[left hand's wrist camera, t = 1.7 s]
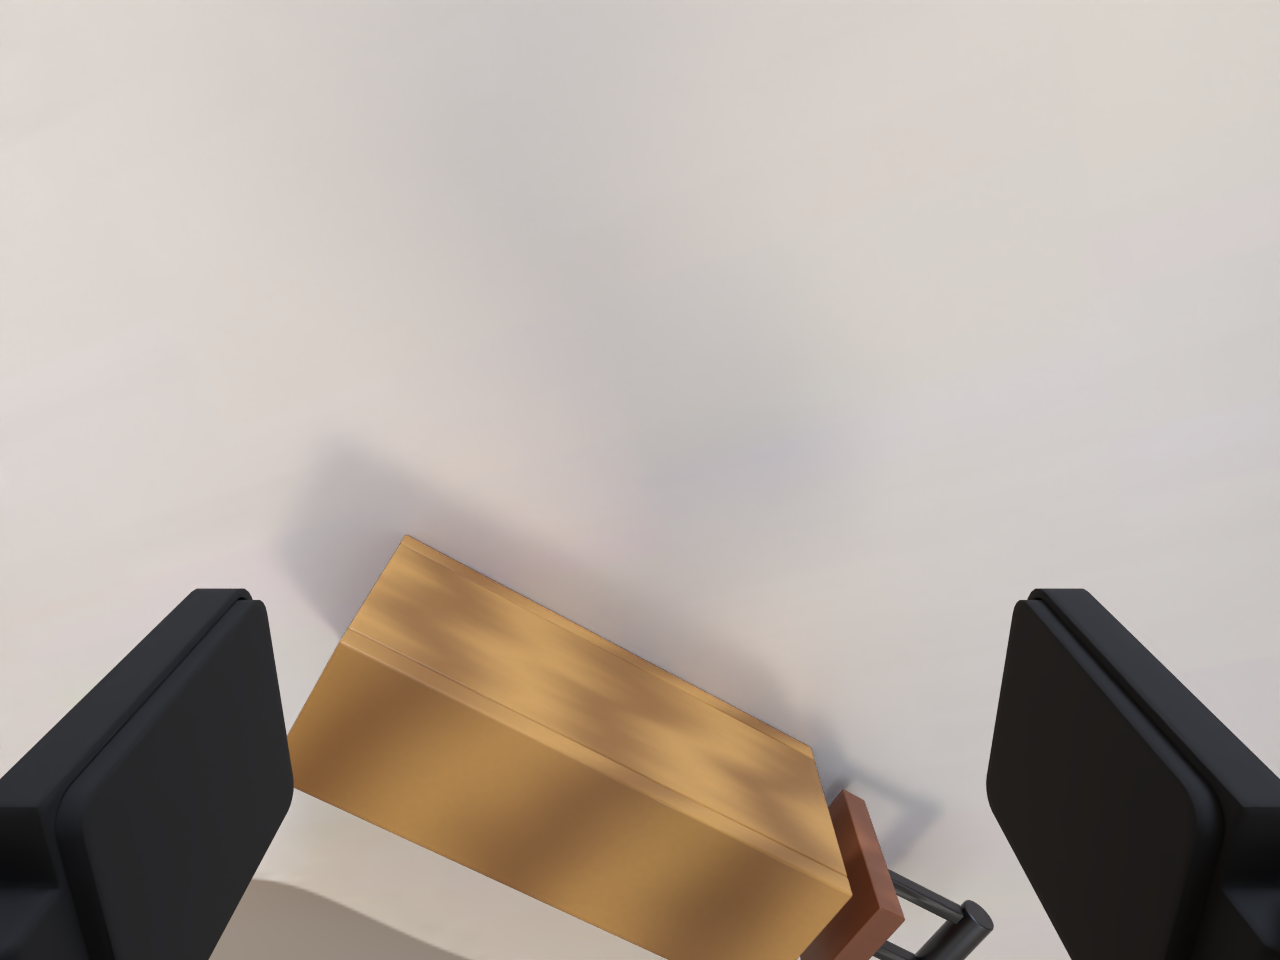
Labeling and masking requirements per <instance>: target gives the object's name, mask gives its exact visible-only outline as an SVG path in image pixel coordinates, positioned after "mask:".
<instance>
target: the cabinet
mask: <svg viewBox="0 0 1280 960" xmlns="http://www.w3.org/2000/svg"><path fill="white" fill-rule="evenodd" d="M287 741H288V747H289V753H290V760H291V766H292V772H293V780H294V788H296V789H298V790H300V791H303V792H305V793H307V794H309V795H311V796H313V797H316V798H318V799H320V800H322V801H324V802H327V803H329V804H331V805H333V806H335V807H337V808H340V809H342V810H344V811H346V812H348V813H350V814H353V815H355V816H357V817H359V818H361V819H363V820H366V821H368V822H370V823H372V824H374V825H377V826H379V827H381V828H383V829H385V830H387V831H390V832H392V833H394V834H396V835H398V836H400V837H403V838H405V839H407V840H409V841H411V842H414V843H416V844H418V845H420V846H422V847H424V848H427V849H429V850H431V851H433V852H435V853H437V854H440V855H442V856H444V857H446V858H448V859H450V860H453V861H455V862H457V863H459V864H461V865H464V866H466V867H468V868H470V869H472V870H474V871H477V872H479V873H481V874H483V875H485V876H487V877H490V878H492V879H494V880H496V881H498V882H500V883H503V884H505V885H507V886H509V887H511V888H514V889H516V890H518V891H520V892H522V893H524V894H527V895H529V896H531V897H533V898H535V899H537V900H540V901H542V902H544V903H546V904H548V905H551V906H553V907H555V908H557V909H559V910H561V911H564V912H566V913H568V914H570V915H572V916H574V917H577V918H579V919H581V920H583V921H585V922H587V923H590V924H592V925H594V926H596V927H598V928H601V929H603V930H605V931H607V932H609V933H611V934H614V935H616V936H618V937H620V938H622V939H624V940H627V941H629V942H631V943H633V944H635V945H638V946H640V947H642V948H644V949H646V950H648V951H651V952H653V953H655V954H657V955H659V956H661V957H664V958H666V959H668V960H797V959H798V957H799V956H800V955H801V954H802V953H803V952H804V951H805V949H806V948H807V947H808V946H809V945H810V944H811V943H812V941H813V940H814V939H815V938H816V937H817V936H818V935H819V934H820V932H821V931H822V930H823V929H824V928H825V927H826V926H827V924H828V923H829V922H830V921H831V920H832V919H833V918H834V916H835V915H836V914H837V913H838V912H839V911H840V910H841V908H842V907H843V906H844V905H845V904H846V903H847V902H848V900H849V899H850V898H851V897H852V891H851V888H850V884H849V881H848V878H847V873H846V870H845V866H844V863H843V859H842V856H841V852H840V849H839V845H838V842H837V838H836V835H835V831H834V828H833V824H832V821H831V817H830V813H829V810H828V806H827V803H826V799H825V796H824V792H823V789H822V785H821V782H820V778H819V775H818V771H817V768H816V764H815V761H814V756H813V753H812V749H811V747H809V746H807V745H805V744H803V743H801V742H799V741H798V740H796V739H794V738H792V737H790V736H788V735H786V734H784V733H782V732H780V731H779V730H777V729H775V728H773V727H771V726H769V725H767V724H765V723H763V722H761V721H760V720H758V719H756V718H754V717H752V716H750V715H748V714H746V713H744V712H742V711H741V710H739V709H737V708H735V707H733V706H731V705H729V704H727V703H725V702H723V701H721V700H720V699H718V698H716V697H714V696H712V695H710V694H708V693H706V692H704V691H702V690H701V689H699V688H697V687H695V686H693V685H691V684H689V683H687V682H685V681H683V680H682V679H680V678H678V677H676V676H674V675H672V674H670V673H668V672H666V671H664V670H663V669H661V668H659V667H657V666H655V665H653V664H651V663H649V662H647V661H645V660H644V659H642V658H640V657H638V656H636V655H634V654H632V653H630V652H628V651H626V650H624V649H623V648H621V647H619V646H617V645H615V644H613V643H611V642H609V641H607V640H605V639H604V638H602V637H600V636H598V635H596V634H594V633H592V632H590V631H588V630H586V629H585V628H583V627H581V626H579V625H577V624H575V623H573V622H571V621H569V620H567V619H566V618H564V617H562V616H560V615H558V614H556V613H554V612H552V611H550V610H548V609H547V608H545V607H543V606H541V605H539V604H537V603H535V602H533V601H531V600H529V599H527V598H526V597H524V596H522V595H520V594H518V593H516V592H514V591H512V590H510V589H508V588H507V587H505V586H503V585H501V584H499V583H497V582H495V581H493V580H491V579H489V578H488V577H486V576H484V575H482V574H480V573H478V572H476V571H474V570H472V569H470V568H469V567H467V566H465V565H463V564H461V563H459V562H457V561H455V560H453V559H451V558H449V557H448V556H446V555H444V554H442V553H440V552H438V551H436V550H434V549H432V548H430V547H429V546H427V545H425V544H423V543H421V542H419V541H417V540H415V539H413V538H411V537H410V536H408V535H405V536H404V538H403V540H402V541H401V543H400V545H399V546H398V548H397V549H396V551H395V553H394V554H393V556H392V557H391V559H390V561H389V562H388V564H387V565H386V567H385V569H384V570H383V572H382V574H381V575H380V577H379V578H378V580H377V582H376V583H375V585H374V586H373V588H372V590H371V591H370V593H369V595H368V596H367V598H366V599H365V601H364V603H363V604H362V606H361V607H360V609H359V611H358V612H357V614H356V616H355V617H354V619H353V620H352V622H351V624H350V625H349V627H348V629H347V630H346V632H345V633H344V635H343V637H342V638H341V640H340V641H339V643H338V645H337V647H336V649H335V650H334V652H333V654H332V656H331V658H330V659H329V661H328V663H327V665H326V667H325V668H324V670H323V672H322V674H321V676H320V677H319V679H318V681H317V683H316V685H315V686H314V688H313V690H312V692H311V694H310V695H309V697H308V699H307V701H306V703H305V704H304V706H303V708H302V710H301V712H300V713H299V715H298V717H297V719H296V721H295V722H294V724H293V726H292V728H291V730H290V731H289V733H288V735H287Z"/></svg>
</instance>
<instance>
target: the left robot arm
mask: <svg viewBox="0 0 1280 960" xmlns="http://www.w3.org/2000/svg"><path fill="white" fill-rule="evenodd" d="M293 788H294V780H293V772H292V766H291V760H290V753H289V747H288V741H287V735H286V728H285V722H284V716H283V710H282V703H281V697H280V691H279V685H278V678H277V672H276V666H275V660H274V653H273V647H272V641H271V635H270V628H269V622H268V616H267V611H266V607H265V605H264V603H263V602H262V601H261V600H252V597H251V595H250V593H249V592H248V591H247V590H246V589H195V590H194V591H192V592H191V593H190V594H189V595H188V596H187V597H186V598H185V599H184V600H183V601H182V602H181V603H180V604H179V605H178V606H177V607H176V608H175V609H174V610H173V611H172V612H171V613H170V614H169V615H167V616H166V617H165V618H164V619H163V620H162V621H161V622H160V623H159V624H158V625H157V626H156V627H155V628H154V629H153V630H152V631H151V632H150V633H149V634H148V635H147V636H146V637H145V638H144V639H143V640H142V641H141V642H140V643H139V644H138V645H137V646H136V647H135V648H134V649H133V650H132V651H131V652H130V653H129V654H128V655H127V656H126V657H125V658H124V659H123V660H121V661H120V662H119V663H118V664H117V665H116V666H115V667H114V668H113V669H112V670H111V671H110V672H109V673H108V674H107V675H106V676H105V677H104V678H103V679H102V680H101V681H100V682H99V683H98V684H97V685H96V686H95V687H94V688H93V689H92V690H91V691H90V692H89V693H88V694H87V695H86V696H85V697H84V698H83V699H82V700H81V701H80V702H79V703H78V704H77V705H75V706H74V707H73V708H72V709H71V710H70V711H69V712H68V713H67V714H66V715H65V716H64V717H63V718H62V719H61V720H60V721H59V722H58V723H57V724H56V725H55V726H54V727H53V728H52V729H51V730H50V731H49V732H48V733H47V734H46V735H45V736H44V737H43V738H42V739H41V740H40V741H39V742H38V743H37V744H36V745H35V746H34V747H33V748H32V749H31V750H29V751H28V752H27V753H26V754H25V755H24V756H23V757H22V758H21V759H20V760H19V761H18V762H17V763H16V764H15V765H14V766H13V767H12V768H11V769H10V770H9V771H8V772H7V773H6V774H5V775H4V776H3V777H2V778H1V779H0V960H208V959H209V958H210V956H211V954H212V952H213V950H214V948H215V946H216V945H217V943H218V941H219V939H220V937H221V935H222V933H223V931H224V930H225V928H226V926H227V924H228V922H229V920H230V918H231V916H232V915H233V913H234V911H235V909H236V907H237V905H238V903H239V901H240V900H241V898H242V896H243V894H244V892H245V890H246V888H247V887H248V885H249V883H250V881H251V879H252V877H253V875H254V874H255V872H256V870H257V868H258V866H259V864H260V862H261V860H262V859H263V857H264V855H265V853H266V851H267V849H268V847H269V845H270V844H271V842H272V840H273V838H274V836H275V834H276V832H277V831H278V829H279V827H280V825H281V823H282V821H283V819H284V817H285V816H286V814H287V812H288V810H289V807H290V805H291V801H292V796H293ZM986 788H987V796H988V801H989V805H990V807H991V810H992V812H993V814H994V816H995V817H996V819H997V821H998V823H999V825H1000V827H1001V829H1002V831H1003V832H1004V834H1005V836H1006V838H1007V840H1008V842H1009V844H1010V845H1011V847H1012V849H1013V851H1014V853H1015V855H1016V857H1017V859H1018V860H1019V862H1020V864H1021V866H1022V868H1023V870H1024V872H1025V874H1026V875H1027V877H1028V879H1029V881H1030V883H1031V885H1032V887H1033V888H1034V890H1035V892H1036V894H1037V896H1038V898H1039V900H1040V902H1041V903H1042V905H1043V907H1044V909H1045V911H1046V913H1047V915H1048V916H1049V918H1050V920H1051V922H1052V924H1053V926H1054V928H1055V930H1056V931H1057V933H1058V935H1059V937H1060V939H1061V941H1062V943H1063V945H1064V946H1065V948H1066V950H1067V952H1068V954H1069V956H1070V958H1071V959H1072V960H1280V779H1279V778H1278V777H1277V776H1276V775H1275V774H1274V773H1273V772H1272V771H1271V770H1270V769H1269V768H1268V767H1267V766H1266V765H1265V764H1264V763H1263V762H1262V761H1261V760H1260V759H1259V758H1258V757H1257V756H1256V755H1255V754H1254V753H1253V752H1252V751H1251V750H1249V749H1248V748H1247V747H1246V746H1245V745H1244V744H1243V743H1242V742H1241V741H1240V740H1239V739H1238V738H1237V737H1236V736H1235V735H1234V734H1233V733H1232V732H1231V731H1230V730H1229V729H1228V728H1227V727H1226V726H1225V725H1224V724H1223V723H1222V722H1221V721H1220V720H1219V719H1218V718H1217V717H1216V716H1215V715H1214V714H1213V713H1212V712H1211V711H1210V710H1209V709H1208V708H1207V707H1206V706H1205V705H1203V704H1202V703H1201V702H1200V701H1199V700H1198V699H1197V698H1196V697H1195V696H1194V695H1193V694H1192V693H1191V692H1190V691H1189V690H1188V689H1187V688H1186V687H1185V686H1184V685H1183V684H1182V683H1181V682H1180V681H1179V680H1178V679H1177V678H1176V677H1175V676H1174V675H1173V674H1172V673H1171V672H1170V671H1169V670H1168V669H1167V668H1166V667H1165V666H1164V665H1163V664H1162V663H1161V662H1160V661H1159V660H1157V659H1156V658H1155V657H1154V656H1153V655H1152V654H1151V653H1150V652H1149V651H1148V650H1147V649H1146V648H1145V647H1144V646H1143V645H1142V644H1141V643H1140V642H1139V641H1138V640H1137V639H1136V638H1135V637H1134V636H1133V635H1132V634H1131V633H1130V632H1129V631H1128V630H1127V629H1126V628H1125V627H1124V626H1123V625H1122V624H1121V623H1120V622H1119V621H1118V620H1117V619H1116V618H1115V617H1114V616H1113V615H1111V614H1110V613H1109V612H1108V611H1107V610H1106V609H1105V608H1104V607H1103V606H1102V605H1101V604H1100V603H1099V602H1098V601H1097V600H1096V599H1095V598H1094V597H1093V596H1092V595H1091V594H1090V593H1089V592H1088V591H1086V590H1085V589H1034V590H1033V591H1032V592H1031V593H1030V595H1029V597H1028V600H1019V601H1018V602H1017V603H1016V605H1015V607H1014V611H1013V616H1012V622H1011V628H1010V635H1009V641H1008V647H1007V653H1006V660H1005V666H1004V672H1003V678H1002V685H1001V691H1000V697H999V703H998V710H997V716H996V722H995V728H994V735H993V741H992V747H991V753H990V760H989V766H988V772H987V780H986Z"/></svg>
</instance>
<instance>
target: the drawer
mask: <svg viewBox="0 0 1280 960" xmlns="http://www.w3.org/2000/svg"><path fill="white" fill-rule="evenodd" d="M828 810H829V813H830V817H831V821H832V824H833V828H834V831H835V835H836V838H837V842H838V845H839V849H840V852H841V856H842V859H843V863H844V866H845V870H846V873H847V878H848V881H849V884H850V888H851V891H852V897H851V898H850V899H849V900H848V902H847V903H846V904H845V905H844V906H843V907H842V908H841V910H840V911H839V912H838V913H837V914H836V915H835V916H834V918H833V919H832V920H831V921H830V922H829V923H828V924H827V926H826V927H825V928H824V929H823V930H822V931H821V932H820V934H819V935H818V936H817V937H816V938H815V939H814V940H813V941H812V943H811V944H810V945H809V946H808V947H807V948H806V949H805V951H804V952H803V953H802V954H801V955H800V958H801V960H869V959H870V958H871V957H872V956H874V957H876V958H878V959H880V960H964V959H965V958H966V957H967V956H968V955H969V954H970V953H971V952H972V951H973V950H974V949H975V948H976V947H977V946H978V945H979V944H980V943H981V942H982V940H983V939H984V938H985V937H986V936H987V935H988V934H989V933H990V932H991V931H992V930H993V928H994V925H993V922H992V920H991V918H990V916H989V915H988V914H987V912H986V911H985V910H984V909H983V908H982V907H981V906H979V905H978V904H977V903H975V902H973V901H971V900H966V901H965V902H964V903H963V904H962V905H961V906H960V905H958V904H956V903H954V902H952V901H950V900H948V899H946V898H944V897H942V896H940V895H938V894H936V893H935V892H933V891H931V890H929V889H927V888H925V887H923V886H921V885H919V884H917V883H915V882H913V881H911V880H909V879H907V878H905V877H903V876H901V875H899V874H897V873H895V872H893V871H891V870H889V869H888V868H887V865H886V863H885V860H884V857H883V854H882V851H881V848H880V845H879V842H878V839H877V836H876V833H875V830H874V828H873V825H872V822H871V819H870V816H869V813H868V810H867V807H866V804H865V801H864V800H863V799H861V798H859V797H857V796H855V795H853V794H851V793H849V792H847V791H845V790H842V791H841V792H840V794H839V795H838V796H837V797H836V798H835V800H834V801H833V802H832V803H831V804H830V806H829V807H828ZM897 895H898V896H900V897H902V898H904V899H906V900H908V901H910V902H912V903H914V904H916V905H918V906H920V907H922V908H924V909H926V910H928V911H930V912H932V913H934V914H936V915H938V916H940V917H942V918H944V919H946V920H947V921H946V922H945V923H944V924H943V925H942V926H941V927H940V928H939V929H938V930H937V932H936V933H935V934H934V935H933V936H932V937H931V938H930V939H929V940H928V941H927V942H926V943H925V944H924V945H923V946H922V948H921V949H920V950H919V951H918V952H917V953H916V954H913V953H911V952H909V951H907V950H905V949H903V948H901V947H899V946H897V945H895V944H893V943H891V942H889V941H886V940H887V939H888V938H889V937H890V936H891V935H892V934H893V933H894V932H895V931H896V930H897V928H898V927H899V926H900V925H901V924H902V923H903V922H904V921H905V918H904V915H903V912H902V909H901V906H900V903H899V901H898V898H897Z"/></svg>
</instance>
